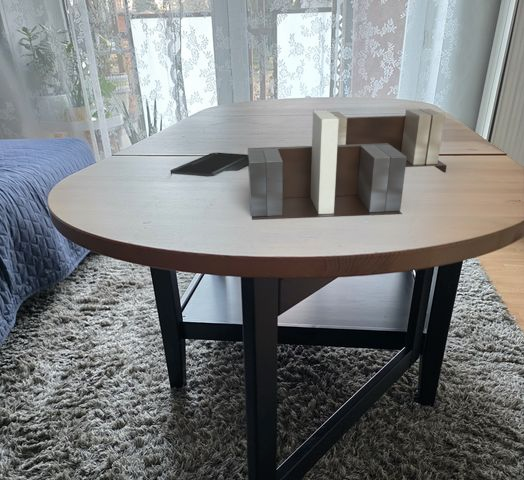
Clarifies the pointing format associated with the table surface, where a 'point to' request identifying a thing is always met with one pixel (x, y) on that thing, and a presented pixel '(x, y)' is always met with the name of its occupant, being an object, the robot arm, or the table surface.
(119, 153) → the table surface
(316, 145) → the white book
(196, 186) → the table surface
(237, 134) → the table surface
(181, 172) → the phone
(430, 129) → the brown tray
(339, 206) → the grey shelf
